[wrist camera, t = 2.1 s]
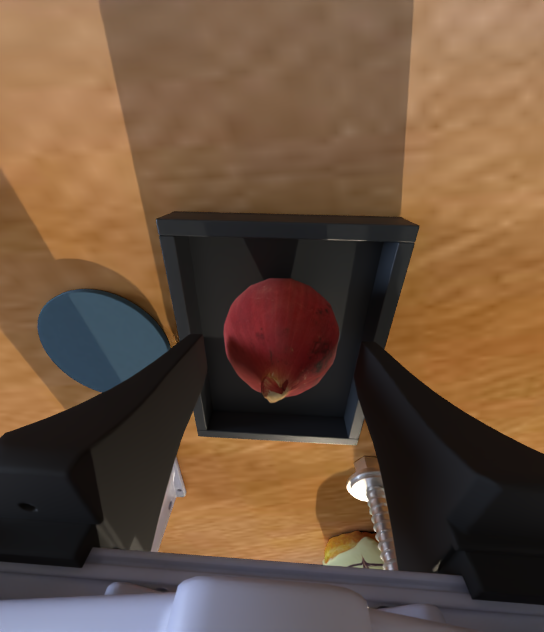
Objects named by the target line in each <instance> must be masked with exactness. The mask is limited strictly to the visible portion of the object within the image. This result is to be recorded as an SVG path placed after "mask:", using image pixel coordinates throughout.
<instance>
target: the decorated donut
mask: <svg viewBox="0 0 544 632" xmlns="http://www.w3.org/2000/svg"><path fill="white" fill-rule="evenodd" d="M376 534H377V533H373V534H371V533H368V532H362V533H361V532H359V531H354V532H352V533H348V534H341V535H339V536H336V537H332V538H330V539H329V541H328V544H327V545H326V548H325V559H324V560H323V565H330V566H343V567H356V568H369V569H382V570H384V569H383V564H384V561H383V560H382V559H381V558H380V554H381V553H382V552H381V550H379V549H378V544H379V541H378V540H377V539H376V537H375V536H376Z"/></svg>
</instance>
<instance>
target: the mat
mask: <svg viewBox="0 0 544 632" xmlns="http://www.w3.org/2000/svg"><path fill="white" fill-rule="evenodd" d="M38 334H39V338H40V341H41V343H42V345H43V348H44V349H45V351H46V353H47V354H48V356H49V357H50V358H51V360H52V361H53V362H54V363H55V364H56V365H57V366H58V367H59V368H60V369H61V370H62V371H63V372H64V373H66V374H67V375H68V376H70V377H71V378H72V379H74V380H76V381H77V382H79V383H81V384H83V385H84V386H86V387H89V388H91V389H93V390H96V391H99V392H102V393H103V392H105V391H107V390H109V389H111V388H113V387H115V386H116V385H118V384H120V383H122V382H123V381H125V380H127V379H128V378H130V377H132V376H133V375H135V374H136V373H138V372H139V371H141V370H142V369H144V368H145V367H146V366H148V365H149V364H151V363H152V362H154V361H155V360H156V359H158V358H159V357H160V356H162V355H163V354H164V353H166V352H167V351H168V350H170V349H171V348H170V344H169V342H168V339H167V337H166V335H165V334H164V332H163V330H162V329H161V327H160V326H159V325H158V324H157V322H156V321H155V320H154V319H153V318H152V317H151V316H150V315H149V314H147V313H146V312H145V311H144V310H143V309H141V308H140V307H138V306H137V305H135V304H134V303H132V302H130V301H128V300H127V299H125V298H122V297H120V296H118V295H115V294H112V293H109V292H105V291H100V290H94V289H77V290H70V291H67V292H64V293H62V294H60V295H58V296H56V297H54V298H53V299H51V300H50V301H49V302H48V303H46V305H45V306H44V307H43V308H42V310H41V312H40V314H39V318H38Z"/></svg>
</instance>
